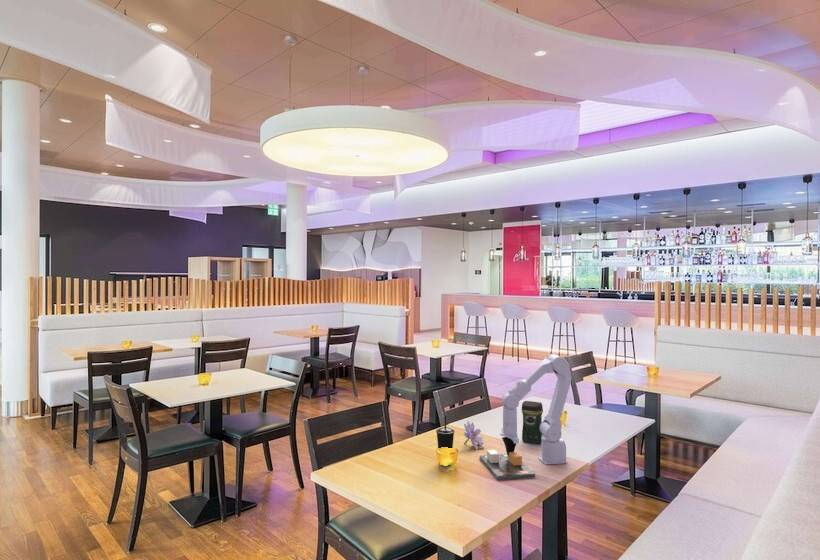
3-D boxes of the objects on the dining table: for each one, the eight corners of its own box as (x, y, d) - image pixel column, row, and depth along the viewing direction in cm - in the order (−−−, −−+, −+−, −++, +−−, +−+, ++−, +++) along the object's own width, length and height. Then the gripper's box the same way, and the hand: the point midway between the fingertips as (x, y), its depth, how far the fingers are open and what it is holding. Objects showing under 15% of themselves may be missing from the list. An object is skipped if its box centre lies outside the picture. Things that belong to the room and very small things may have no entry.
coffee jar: (545, 440, 225) (544, 401, 225) (540, 445, 218) (540, 404, 218) (524, 437, 230) (524, 398, 230) (519, 442, 223) (519, 402, 223)
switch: (495, 458, 198) (495, 449, 198) (499, 462, 193) (499, 453, 193) (487, 458, 197) (486, 450, 197) (490, 463, 192) (490, 454, 192)
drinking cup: (449, 469, 191) (449, 418, 191) (432, 465, 195) (432, 416, 195) (457, 462, 197) (457, 414, 197) (441, 459, 201) (441, 411, 201)
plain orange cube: (517, 460, 195) (517, 451, 195) (521, 465, 190) (521, 456, 190) (509, 461, 195) (508, 452, 195) (513, 465, 190) (513, 456, 190)
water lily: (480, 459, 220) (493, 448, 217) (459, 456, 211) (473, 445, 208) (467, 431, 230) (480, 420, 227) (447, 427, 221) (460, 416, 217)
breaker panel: (513, 456, 204) (513, 453, 204) (535, 477, 182) (535, 473, 182) (479, 459, 201) (479, 455, 201) (497, 480, 180) (497, 475, 180)
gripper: (494, 418, 205) (495, 449, 205) (506, 428, 190) (507, 462, 190) (510, 417, 206) (510, 449, 206) (523, 427, 192) (523, 461, 191)
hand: (510, 455), depth 198 cm, fingers closed
